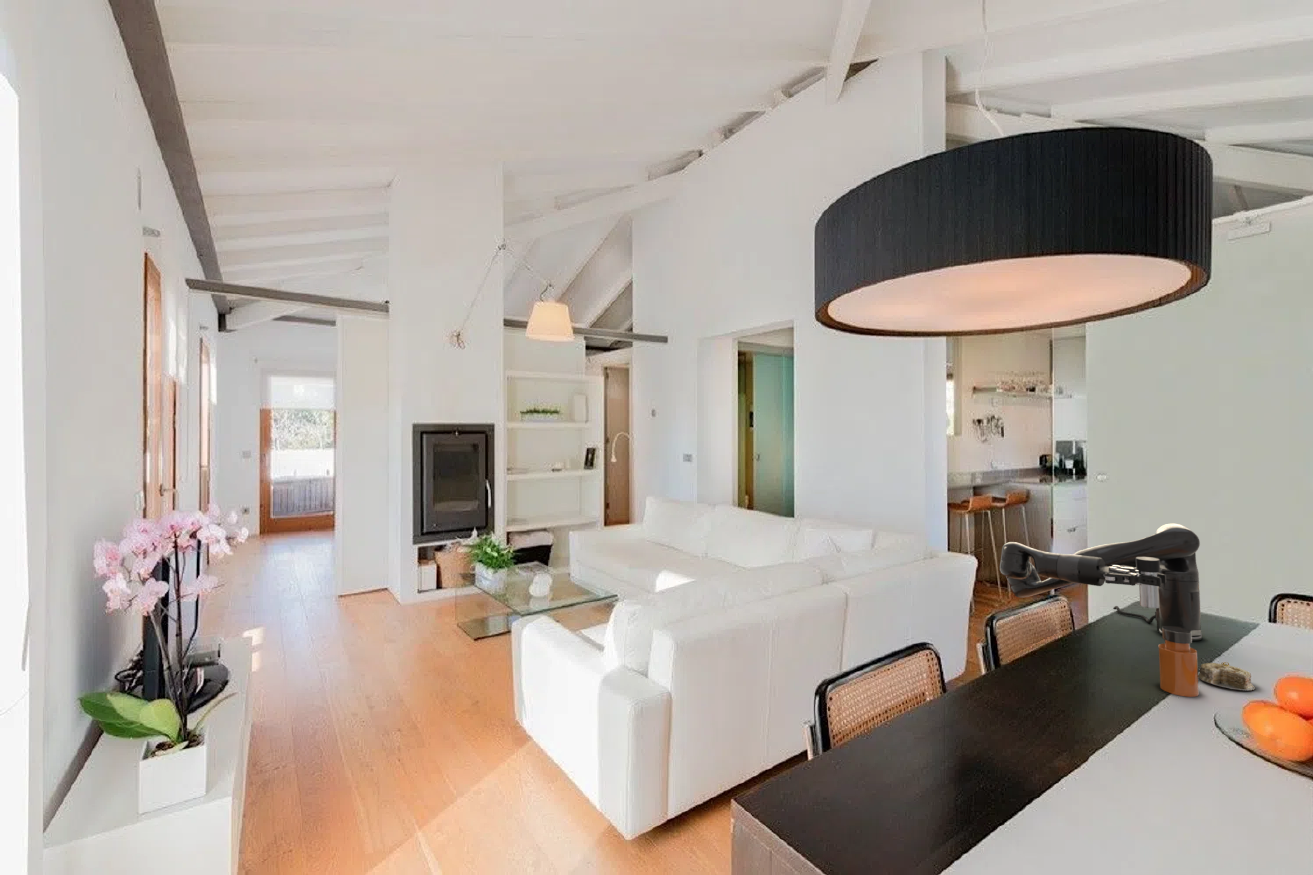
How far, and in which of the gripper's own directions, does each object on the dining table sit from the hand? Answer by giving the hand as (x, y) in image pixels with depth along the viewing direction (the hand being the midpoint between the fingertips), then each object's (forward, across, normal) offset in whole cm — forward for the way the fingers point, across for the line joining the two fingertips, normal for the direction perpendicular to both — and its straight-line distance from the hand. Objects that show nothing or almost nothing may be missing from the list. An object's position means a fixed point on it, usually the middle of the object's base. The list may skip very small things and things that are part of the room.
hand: (1162, 580), depth 142 cm
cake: (+9, -8, -25) cm, 28 cm away
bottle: (+3, +5, -25) cm, 25 cm away
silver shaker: (-3, 0, -7) cm, 8 cm away
